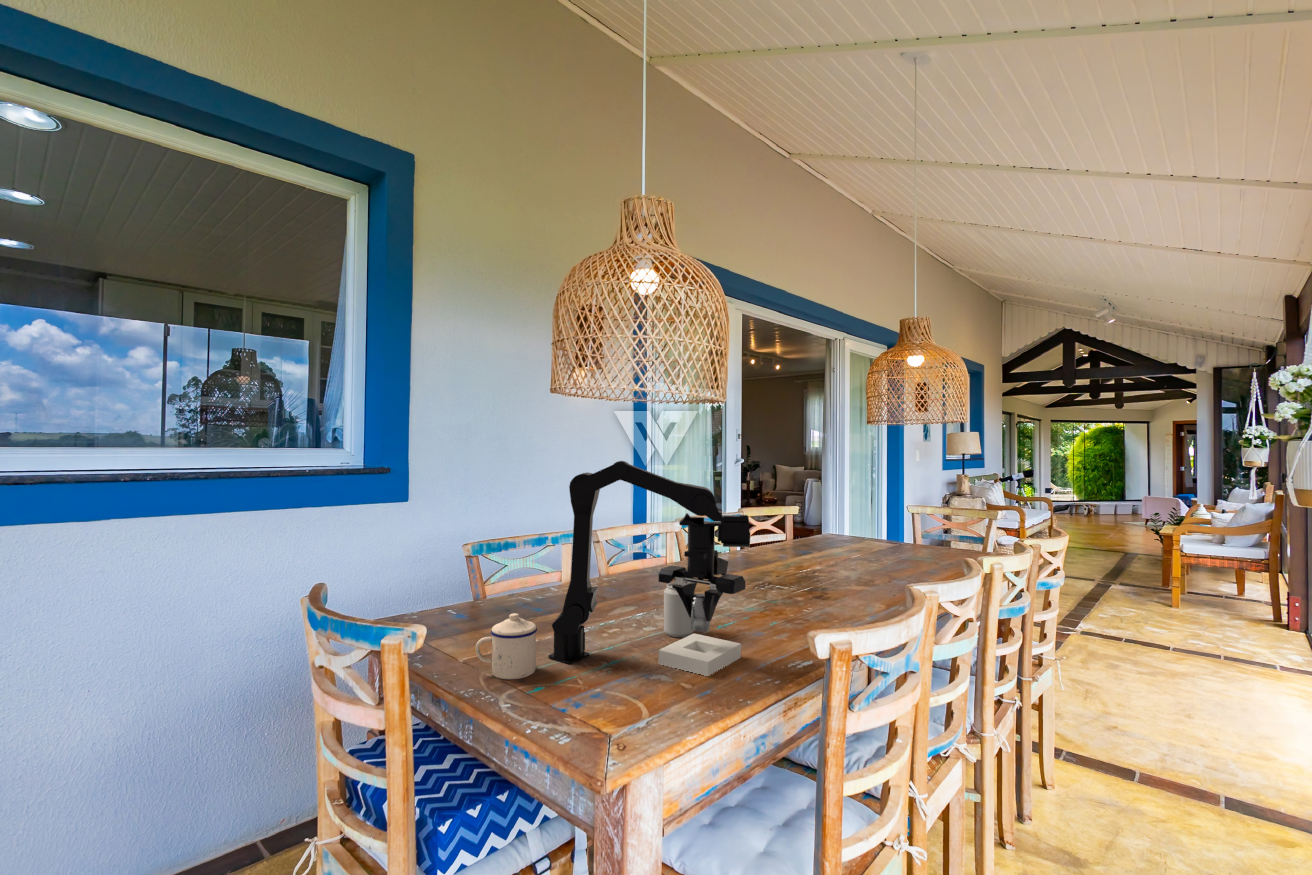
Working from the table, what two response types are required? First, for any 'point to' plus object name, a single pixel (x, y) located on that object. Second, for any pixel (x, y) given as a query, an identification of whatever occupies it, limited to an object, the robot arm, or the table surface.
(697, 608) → the grey metal cylinder
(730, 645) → the block
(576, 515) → the robot arm
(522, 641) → the teacup with lid
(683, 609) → the can
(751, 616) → the table surface
